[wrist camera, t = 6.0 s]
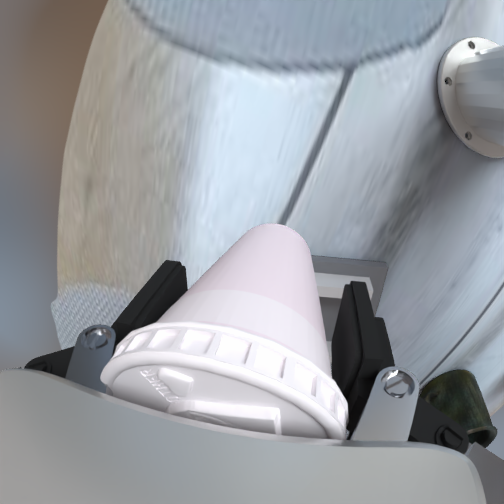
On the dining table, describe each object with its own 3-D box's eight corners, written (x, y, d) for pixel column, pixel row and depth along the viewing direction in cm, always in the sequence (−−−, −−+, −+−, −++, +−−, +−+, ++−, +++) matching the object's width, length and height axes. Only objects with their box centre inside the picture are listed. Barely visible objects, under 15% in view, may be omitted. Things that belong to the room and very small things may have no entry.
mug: (441, 413, 40) (454, 468, 30) (388, 395, 39) (396, 461, 29) (486, 375, 35) (508, 431, 25) (438, 350, 34) (462, 419, 24)
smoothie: (367, 256, 14) (399, 613, 1) (280, 331, 17) (213, 593, 4) (260, 165, 13) (-29, 533, 1) (186, 261, 16) (14, 506, 4)
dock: (385, 262, 30) (393, 280, 27) (360, 351, 36) (362, 372, 33) (255, 249, 32) (248, 266, 29) (252, 341, 38) (247, 361, 35)
